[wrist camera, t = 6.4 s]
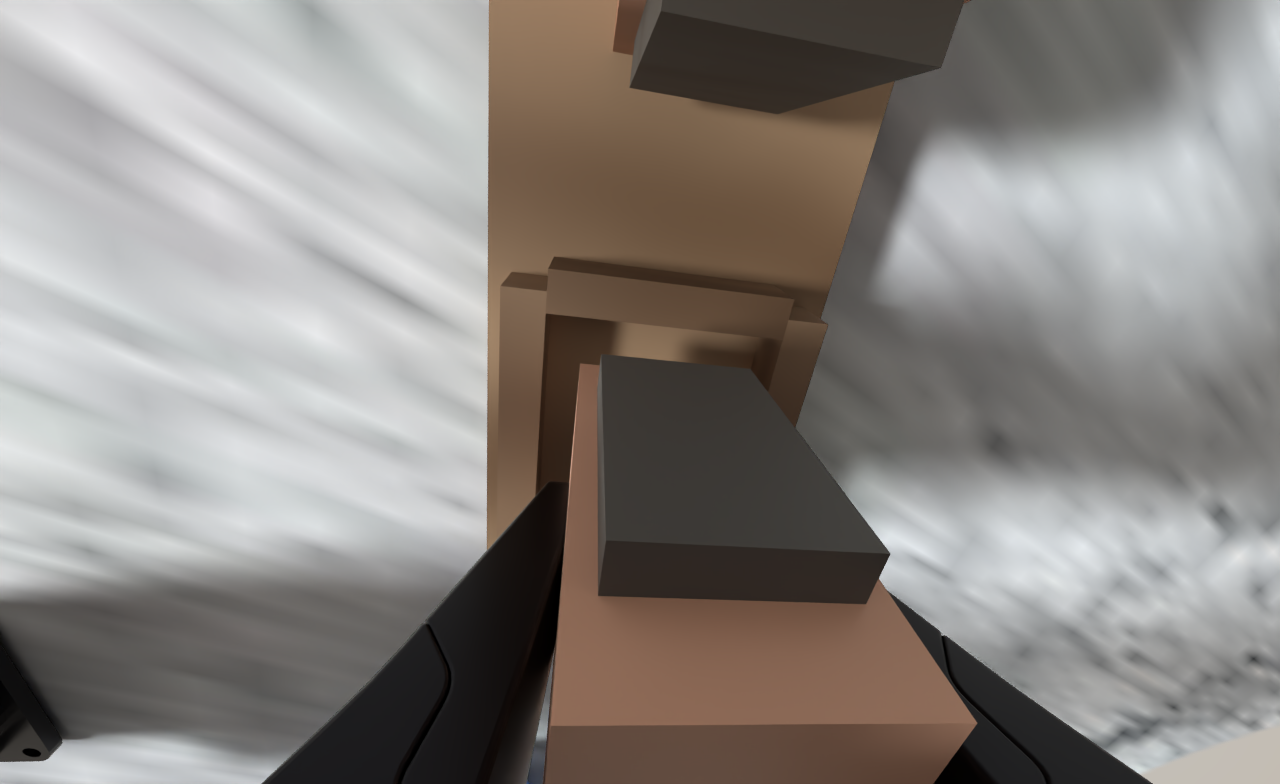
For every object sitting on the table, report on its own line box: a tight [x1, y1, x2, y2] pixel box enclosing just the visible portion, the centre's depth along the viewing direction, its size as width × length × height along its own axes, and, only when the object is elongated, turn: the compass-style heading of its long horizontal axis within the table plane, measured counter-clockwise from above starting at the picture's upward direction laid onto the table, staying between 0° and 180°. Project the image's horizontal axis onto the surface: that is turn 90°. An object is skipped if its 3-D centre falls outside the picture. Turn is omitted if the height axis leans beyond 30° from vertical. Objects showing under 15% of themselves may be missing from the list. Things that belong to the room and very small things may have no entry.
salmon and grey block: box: [543, 354, 977, 784], centre depth 7 cm, size 5×3×6 cm, turn 172°
